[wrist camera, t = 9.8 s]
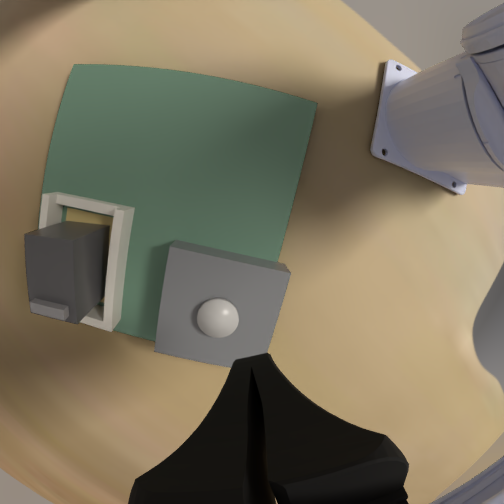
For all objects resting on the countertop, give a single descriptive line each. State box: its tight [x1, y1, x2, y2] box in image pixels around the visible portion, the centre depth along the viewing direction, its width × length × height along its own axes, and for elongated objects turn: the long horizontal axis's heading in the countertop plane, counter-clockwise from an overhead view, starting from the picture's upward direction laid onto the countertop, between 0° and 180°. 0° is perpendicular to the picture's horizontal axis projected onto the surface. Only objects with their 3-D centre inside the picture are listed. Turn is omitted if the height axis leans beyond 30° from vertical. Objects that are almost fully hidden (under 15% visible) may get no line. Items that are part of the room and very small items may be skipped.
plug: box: [25, 221, 110, 324], centre depth 15 cm, size 3×5×6 cm
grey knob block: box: [154, 240, 291, 368], centre depth 18 cm, size 7×7×2 cm
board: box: [38, 64, 317, 341], centre depth 17 cm, size 17×18×3 cm
